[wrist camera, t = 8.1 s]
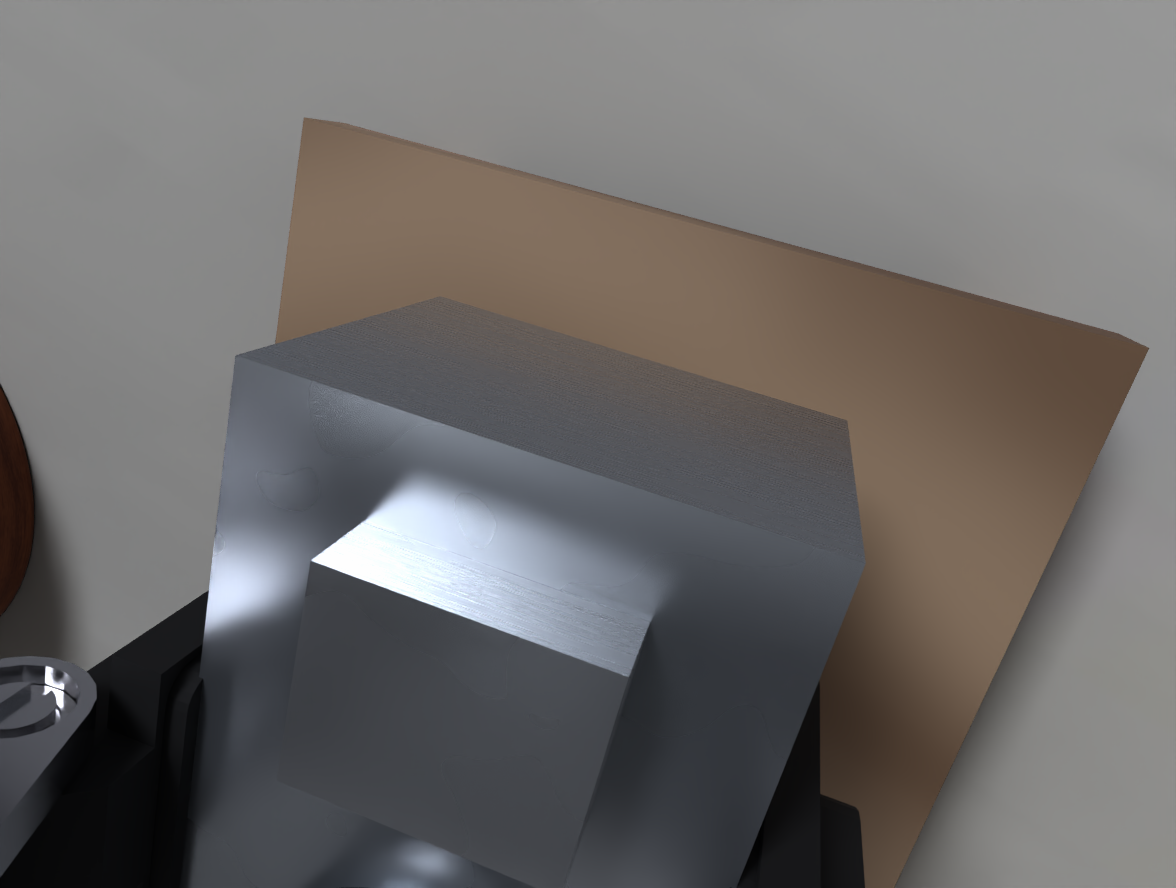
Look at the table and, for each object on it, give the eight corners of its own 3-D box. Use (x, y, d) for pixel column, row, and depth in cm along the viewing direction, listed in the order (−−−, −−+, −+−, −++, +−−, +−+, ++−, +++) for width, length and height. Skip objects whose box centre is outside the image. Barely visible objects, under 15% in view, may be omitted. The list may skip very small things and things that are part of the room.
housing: (847, 419, 10) (873, 630, 5) (638, 987, 13) (536, 1445, 8) (440, 296, 11) (144, 380, 6) (332, 857, 14) (79, 1208, 9)
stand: (831, 883, 18) (834, 1013, 15) (306, 680, 20) (222, 762, 17) (1081, 316, 14) (1149, 348, 11) (394, 130, 16) (303, 117, 13)
